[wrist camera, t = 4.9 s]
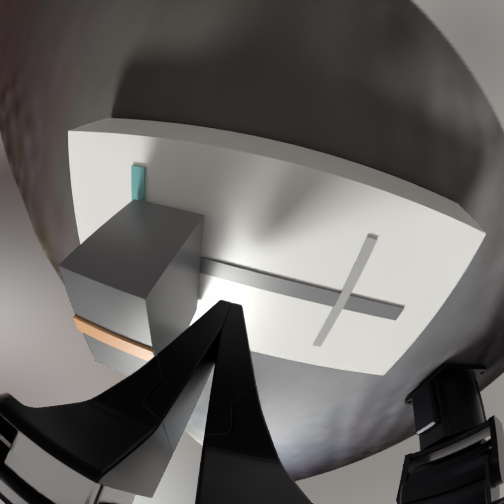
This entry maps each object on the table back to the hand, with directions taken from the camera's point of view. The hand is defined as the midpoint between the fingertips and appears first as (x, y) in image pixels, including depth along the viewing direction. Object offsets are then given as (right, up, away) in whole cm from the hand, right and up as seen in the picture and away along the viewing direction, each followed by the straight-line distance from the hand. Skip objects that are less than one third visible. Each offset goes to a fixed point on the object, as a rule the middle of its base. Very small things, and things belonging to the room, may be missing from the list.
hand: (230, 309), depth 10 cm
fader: (-3, +2, +2) cm, 4 cm away
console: (+1, +3, +4) cm, 5 cm away
